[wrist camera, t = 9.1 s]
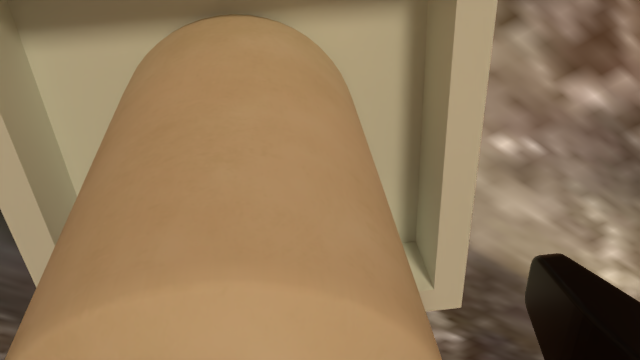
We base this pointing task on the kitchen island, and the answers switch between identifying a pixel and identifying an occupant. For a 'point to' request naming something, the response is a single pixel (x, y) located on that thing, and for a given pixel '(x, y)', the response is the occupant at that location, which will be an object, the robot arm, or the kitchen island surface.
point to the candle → (230, 217)
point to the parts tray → (309, 19)
